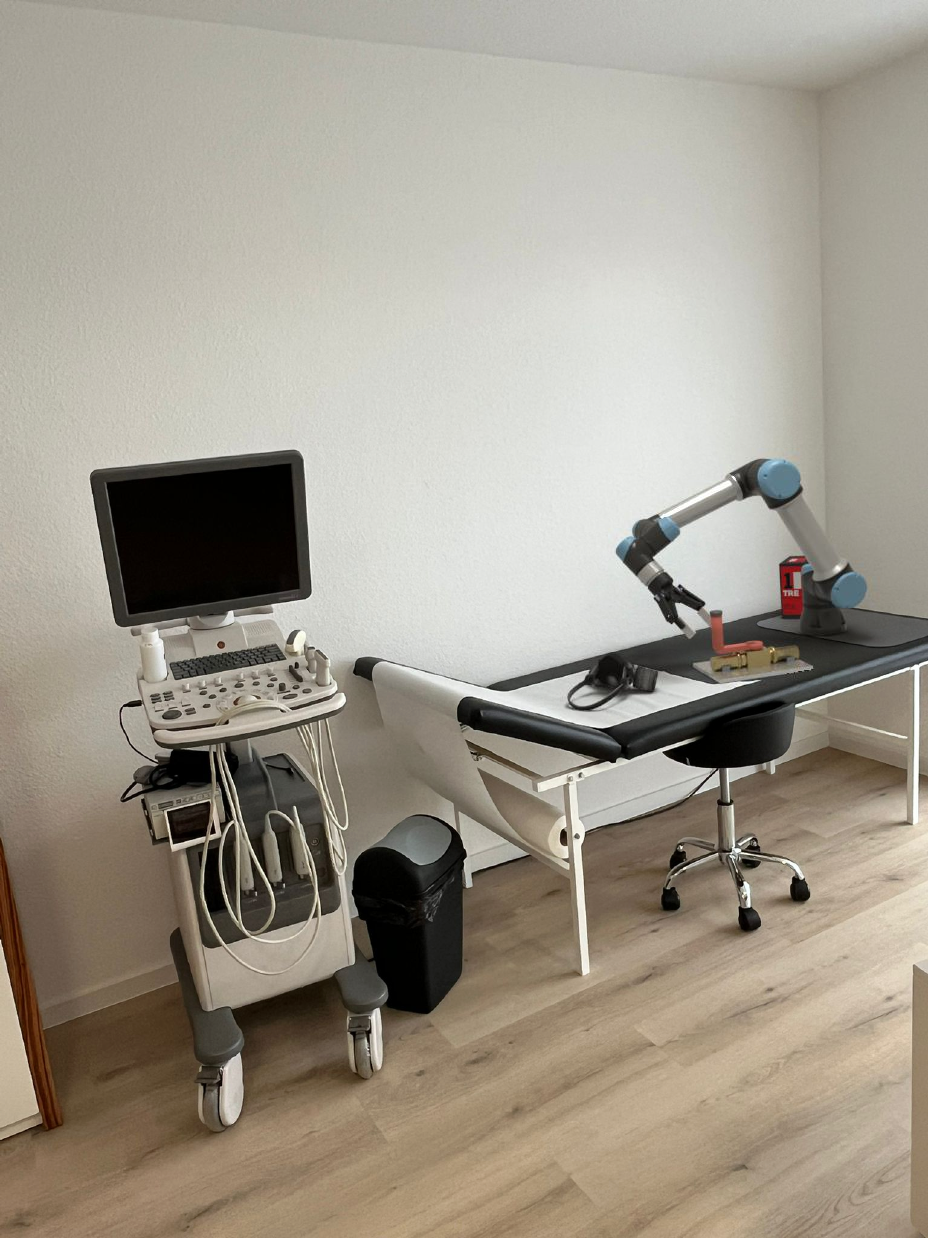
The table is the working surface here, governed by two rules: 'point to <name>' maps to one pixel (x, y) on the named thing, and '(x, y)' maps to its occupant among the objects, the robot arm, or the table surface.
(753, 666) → the valve
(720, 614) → the lever
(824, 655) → the table surface
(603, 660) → the respirator mask
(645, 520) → the robot arm
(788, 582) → the cleaning product box
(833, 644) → the table surface
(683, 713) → the table surface
